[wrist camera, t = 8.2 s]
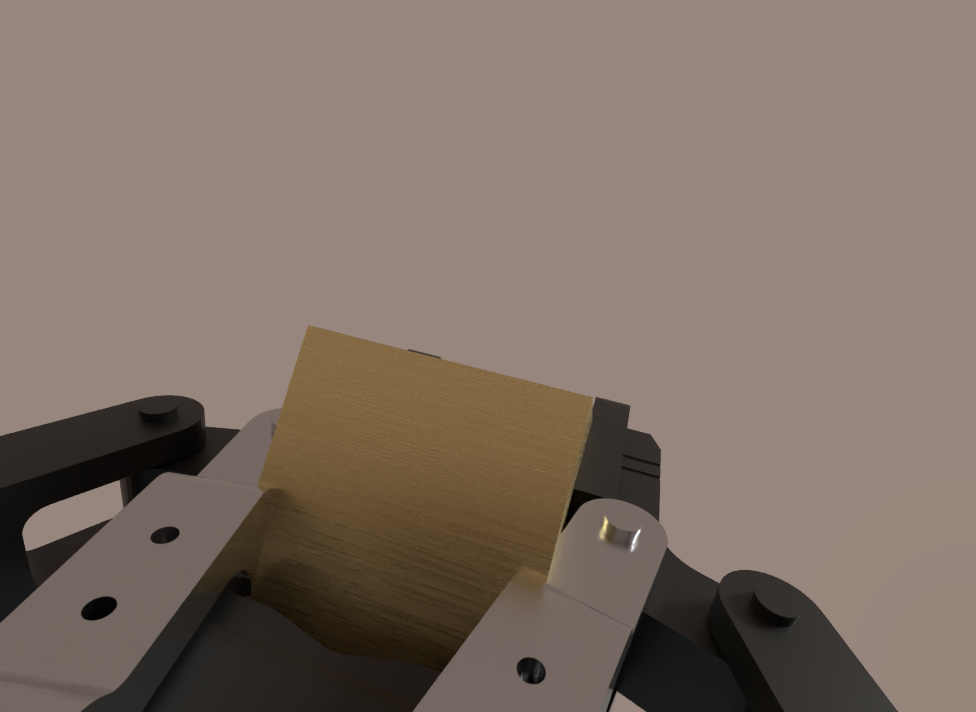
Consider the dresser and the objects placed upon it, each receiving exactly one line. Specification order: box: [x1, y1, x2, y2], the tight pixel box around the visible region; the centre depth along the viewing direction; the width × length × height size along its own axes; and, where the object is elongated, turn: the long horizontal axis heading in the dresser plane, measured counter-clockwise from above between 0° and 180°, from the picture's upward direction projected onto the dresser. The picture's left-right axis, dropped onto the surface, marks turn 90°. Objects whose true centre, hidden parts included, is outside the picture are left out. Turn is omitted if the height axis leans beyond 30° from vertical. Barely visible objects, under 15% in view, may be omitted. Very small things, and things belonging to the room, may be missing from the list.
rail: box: [245, 326, 593, 673], centre depth 14 cm, size 4×15×4 cm, turn 169°
